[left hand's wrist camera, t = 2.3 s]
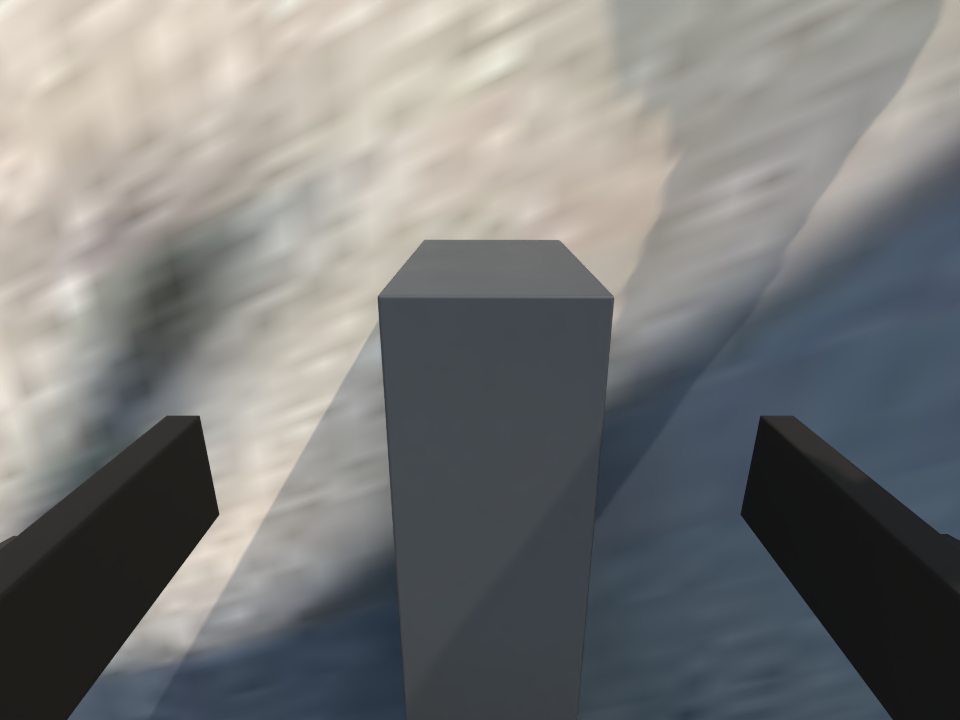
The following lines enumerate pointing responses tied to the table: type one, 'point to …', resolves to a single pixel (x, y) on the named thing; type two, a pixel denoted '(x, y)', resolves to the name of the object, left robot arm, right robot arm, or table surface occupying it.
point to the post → (493, 472)
